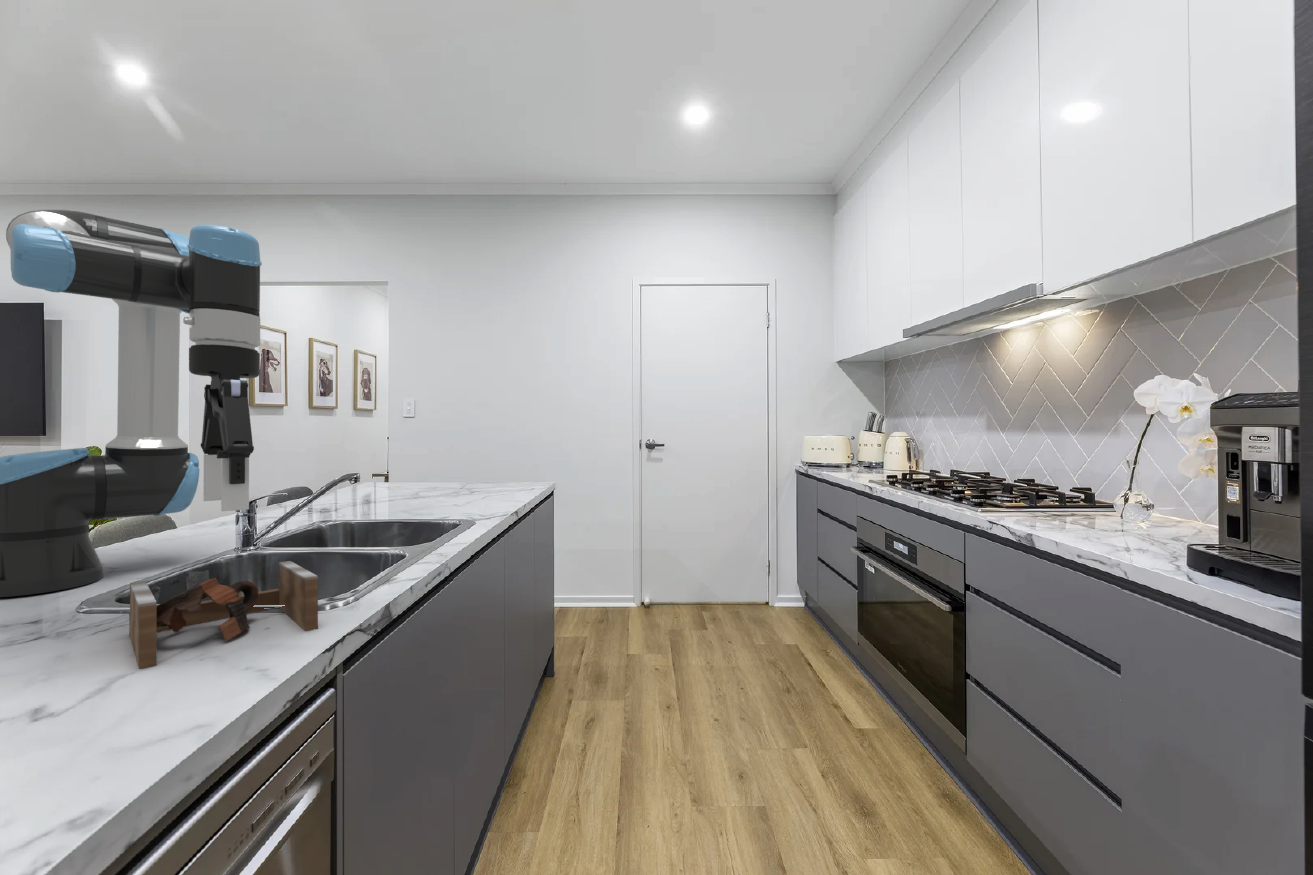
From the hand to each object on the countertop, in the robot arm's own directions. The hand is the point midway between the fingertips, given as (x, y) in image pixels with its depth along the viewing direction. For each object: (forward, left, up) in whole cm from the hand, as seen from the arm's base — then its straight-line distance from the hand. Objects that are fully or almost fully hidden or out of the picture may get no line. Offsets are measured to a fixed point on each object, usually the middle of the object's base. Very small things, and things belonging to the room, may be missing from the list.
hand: (225, 505), depth 75 cm
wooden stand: (0, 0, -17) cm, 17 cm away
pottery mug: (0, 0, -18) cm, 18 cm away
